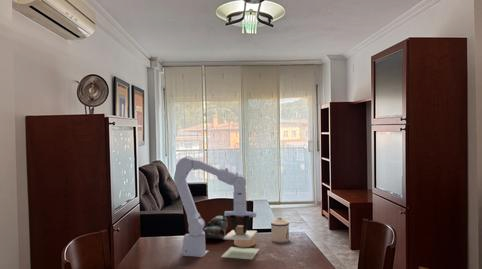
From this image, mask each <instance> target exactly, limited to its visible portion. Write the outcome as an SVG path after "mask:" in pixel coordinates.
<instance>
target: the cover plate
mask: <svg viewBox="0 0 482 269" xmlns="http://www.w3.org/2000/svg"><path fill="white" fill-rule="evenodd" d="M235 228H236V233H235V231H234V229H232V230H231V231H230V232H228V233H226V236H225V237H224V239H225V240H233V241H234V240H251V239H252V238H253V237H254V235H255V236H256V235H257V233H258V231H257V230H247V231H246V233H244V232H243V229H244V226H243V225H242V224H240V225H239V224H237V226H236V227H235Z"/></svg>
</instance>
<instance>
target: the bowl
mask: <svg viewBox="0 0 482 269" xmlns="http://www.w3.org/2000/svg"><path fill="white" fill-rule="evenodd" d="M256 244H257V243H256V234H255V235H254V237H253V238H252V239H251V240H233V245H234V247H240V248H252V247H253V246H255V245H256Z"/></svg>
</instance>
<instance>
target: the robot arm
mask: <svg viewBox="0 0 482 269" xmlns="http://www.w3.org/2000/svg"><path fill="white" fill-rule="evenodd" d="M192 170H193V171H195V170H201V171H203V172H206V173H208V174H212V175H214V176H216V178H217V180H218V181H220V182H223V183H225V184H227V185H229V186H232V187H233V192H232V193H233V196H232V197H233V210H225V211H224V215H223V216H227V217H229V221H230V222H231V224H232V226H233V230H234V231H235V233H236V228H235V227H236V226H237V225H238V220H239V217H242V224H243V226H244V229H243V232H244V233H246V231H248V225H249V222H250V220H251V218H255V219H256V217H257V212H256V211H248V210H247V188H246V186H247V180H246V178H245V176H244V175H242V174H239V173H238V172H234V171H231V170H229V168H228V167H222V168H218V167H215V166H213V165H211V164H209V163H207V162H205V161H203V160H201V159H198V158H193V157H192V156H185V157H182V158H180V159H179V160H178V161H177V163H176V165H175V172H174V175H173V180H174V183H175V186H176V189H177V192H178V194H179V198H180V200H181V203H182V205H183V208H184V210H185V214H186V218H187V220H186V221H187V225H188V232H189V233H186V234H184V236H183V241H182V242H183V244H182V246H183V250H182V251H183V253H182V256H184V257H197V258H198V257H199V258H202V257H205V255H206V254H208V253H209V252H210V251H209V250H207V249H206V238H205V232H204V229H205V228H206V221H205V220H204V218H202V216H201V214H200V212H198V209H197V206H196V204H195V201H194V198H193V195H192V193H191V190H190V187H189V185H188V182H187V177H188V175H189V174H190V172H191V171H192Z"/></svg>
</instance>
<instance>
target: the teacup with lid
mask: <svg viewBox="0 0 482 269" xmlns="http://www.w3.org/2000/svg"><path fill="white" fill-rule="evenodd" d="M270 225H271V228H270V229H271V241H272V242H276V243H285V242H286V243H287V242H289V241H290V234H289V232H290V230H289V228H290V226H289V225H290V222H289V221H288V220H286V219H284V218H282V216H278V217H277V218H276V219H274V220H271V223H270Z"/></svg>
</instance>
